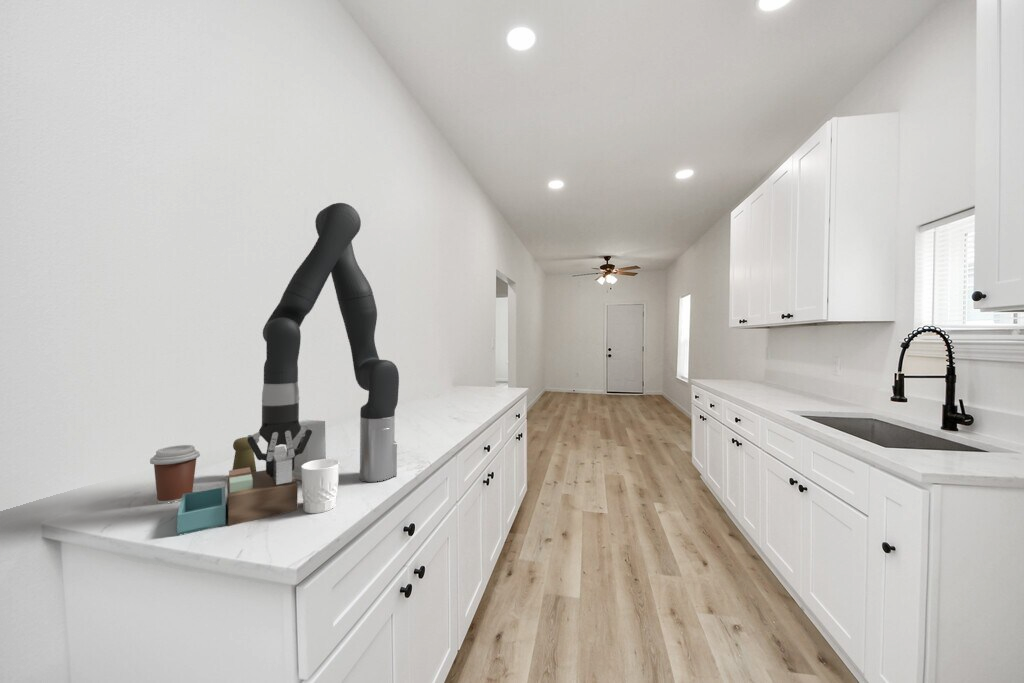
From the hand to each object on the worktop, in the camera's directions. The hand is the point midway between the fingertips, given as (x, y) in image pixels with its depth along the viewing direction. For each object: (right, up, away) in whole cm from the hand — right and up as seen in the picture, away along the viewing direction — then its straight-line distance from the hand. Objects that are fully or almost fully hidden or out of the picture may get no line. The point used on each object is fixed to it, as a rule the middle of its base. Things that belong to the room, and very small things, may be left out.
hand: (280, 474), depth 90 cm
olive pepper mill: (-20, -7, +17) cm, 27 cm away
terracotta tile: (-8, -1, -2) cm, 8 cm away
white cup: (+11, -7, -3) cm, 13 cm away
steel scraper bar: (0, 0, 0) cm, 0 cm away
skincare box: (-3, -7, +17) cm, 19 cm away
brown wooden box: (-3, -7, -2) cm, 8 cm away
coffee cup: (-26, -7, +2) cm, 27 cm away
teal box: (-11, -6, -9) cm, 16 cm away
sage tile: (-4, -1, -7) cm, 8 cm away
